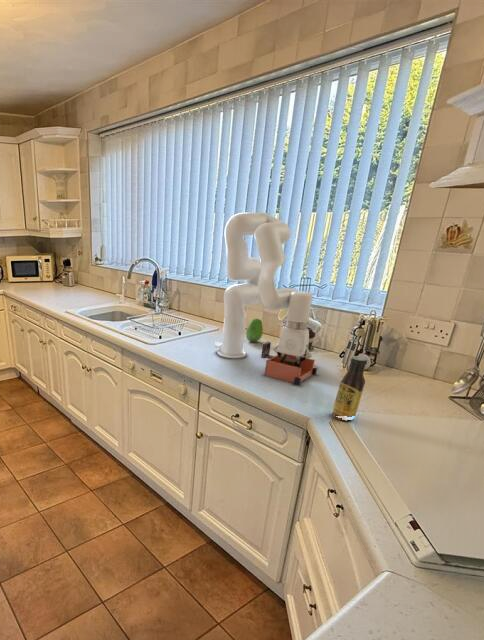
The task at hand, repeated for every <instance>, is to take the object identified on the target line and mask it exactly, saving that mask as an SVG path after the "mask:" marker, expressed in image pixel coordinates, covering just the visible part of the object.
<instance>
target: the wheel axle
mask: <svg viewBox="0 0 484 640" xmlns="http://www.w3.org/2000/svg"><path fill="white" fill-rule="evenodd" d="M317 372H318V368H317V367H313V372H312V375H313V376H316V375H317ZM312 375H311V376H312ZM301 383H302V381H301V378H297V377H295V379H294V383H293V385H295V386H298V387H300V386H301Z"/></svg>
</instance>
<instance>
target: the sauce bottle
mask: <svg viewBox="0 0 484 640" xmlns="http://www.w3.org/2000/svg"><path fill="white" fill-rule="evenodd" d="M367 363H368V358H366V357H364V356H361V355H353V356H351V358H350V364H349V368H348V370H347V372H346V373H345V375H344V376H343V378H342V379H341V381H340V383H339V386H338V389H337V393H336V397H335V401H334V404H333V408H332V417H333V418H334V419H336V420H339V421H342V422H344V421H343V420H342V418H338V417H336V416H347V417H352V416H355V417H356V416H357V412H358V409H359V406H360V402H361V399H362V395H363V392H364V387H365V384H366V379H365V376H364V373H365V371H364V370H365V367H366V365H367Z"/></svg>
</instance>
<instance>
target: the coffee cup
mask: <svg viewBox="0 0 484 640" xmlns="http://www.w3.org/2000/svg"><path fill="white" fill-rule="evenodd" d="M307 329H308V330H309V345H308V349H309V351H310V352H311V350H312V345H313V343H314V342H313V340H314V339H315V337H316V332H315V331H313V328H311V327H309V326H307ZM304 356H306V354H304V355H303V356H302V357H304Z"/></svg>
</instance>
